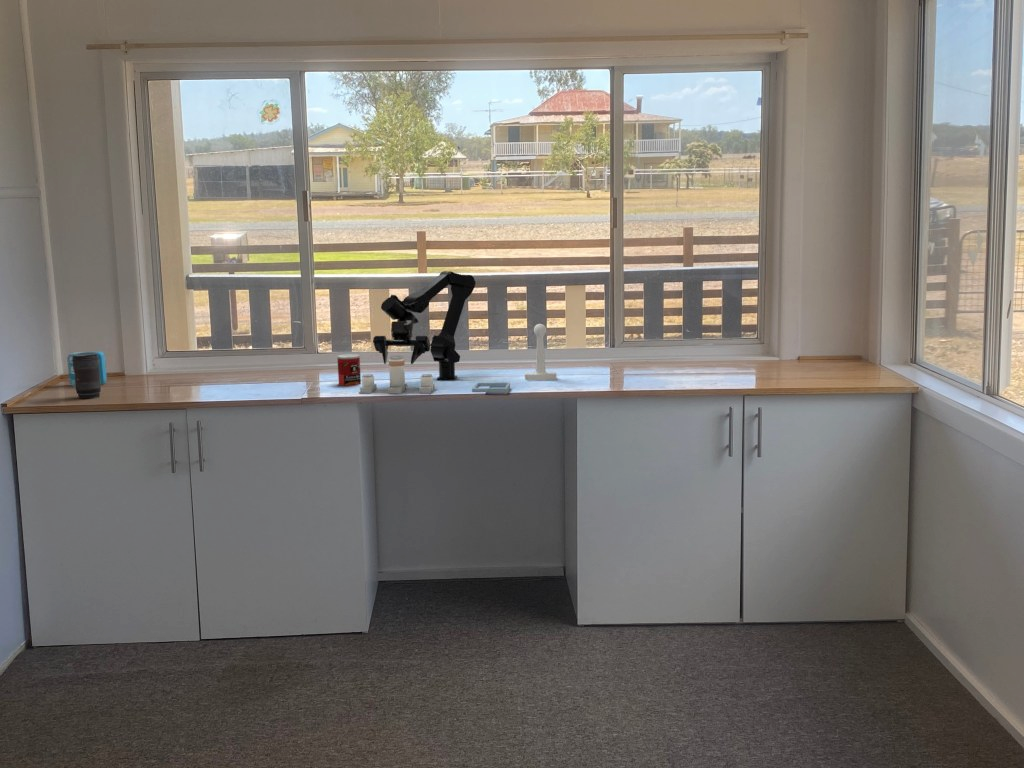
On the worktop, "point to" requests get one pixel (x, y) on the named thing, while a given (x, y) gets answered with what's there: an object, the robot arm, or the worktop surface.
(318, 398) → the worktop surface
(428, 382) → the small fuse
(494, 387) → the tray
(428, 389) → the block
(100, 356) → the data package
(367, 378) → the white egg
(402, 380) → the copper banded cylinder
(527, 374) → the joystick
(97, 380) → the camera lens
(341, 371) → the canned food
